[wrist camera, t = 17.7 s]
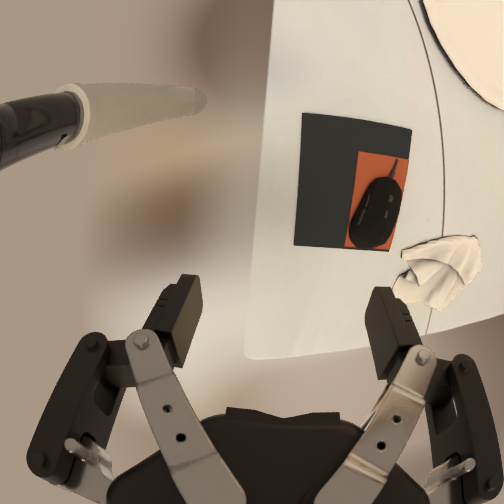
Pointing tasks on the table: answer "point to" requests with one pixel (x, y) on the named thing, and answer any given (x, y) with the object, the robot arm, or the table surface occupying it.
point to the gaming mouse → (376, 213)
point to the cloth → (438, 270)
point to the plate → (473, 42)
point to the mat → (343, 174)
